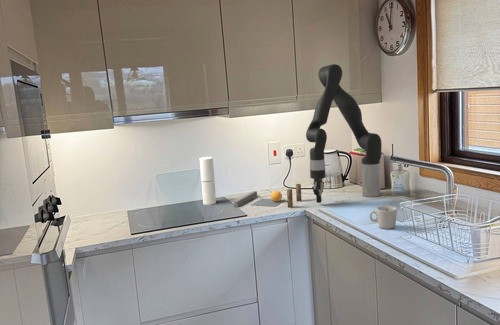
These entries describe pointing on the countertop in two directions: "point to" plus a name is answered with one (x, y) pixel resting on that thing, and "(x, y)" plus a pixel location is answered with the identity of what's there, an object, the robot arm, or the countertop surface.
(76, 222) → the countertop surface
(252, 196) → the stopper wall
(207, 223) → the countertop surface
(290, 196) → the post
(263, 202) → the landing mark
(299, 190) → the post
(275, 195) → the ball
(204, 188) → the cylindrical container
